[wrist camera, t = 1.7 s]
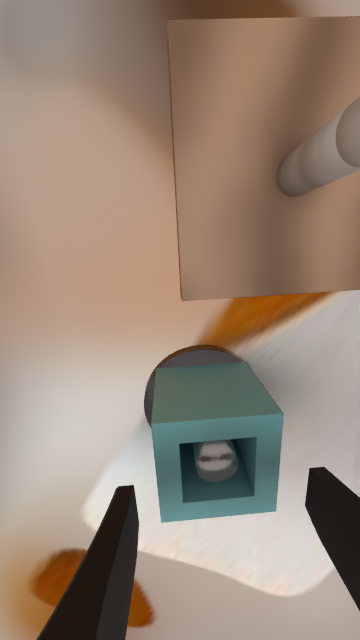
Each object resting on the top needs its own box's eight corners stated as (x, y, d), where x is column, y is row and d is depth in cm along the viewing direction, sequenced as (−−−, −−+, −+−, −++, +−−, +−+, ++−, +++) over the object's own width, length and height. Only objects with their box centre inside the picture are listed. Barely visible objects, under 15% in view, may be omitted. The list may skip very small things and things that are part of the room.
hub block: (413, 38, 12) (702, -214, 5) (372, 285, 15) (522, 308, 9) (167, 43, 11) (168, -224, 5) (180, 297, 14) (191, 330, 8)
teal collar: (245, 361, 15) (283, 413, 10) (244, 435, 16) (275, 511, 12) (156, 368, 15) (151, 424, 10) (162, 442, 16) (161, 522, 11)
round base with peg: (257, 341, 15) (304, 387, 10) (253, 437, 18) (291, 517, 12) (139, 349, 15) (125, 401, 10) (150, 446, 17) (142, 532, 12)
